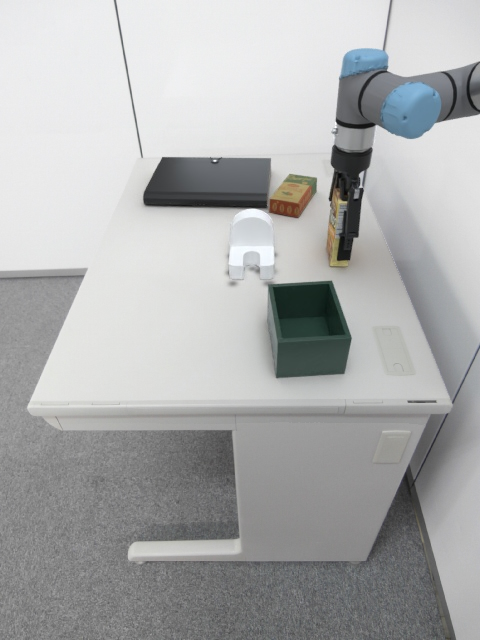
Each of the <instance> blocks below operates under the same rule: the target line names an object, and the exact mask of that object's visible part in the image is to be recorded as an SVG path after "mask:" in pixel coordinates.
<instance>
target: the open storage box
mask: <svg viewBox="0 0 480 640" xmlns="http://www.w3.org/2000/svg"><path fill="white" fill-rule="evenodd" d="M341 305H342V304H341V302H340V299H339V295H338V293H337V290H336V287H335V284H334V282H333V280H316V281H300V282H281V283H269V284H267V311H266V312H267V313H266V316H267V319H266V320H267V327H268V333H269V340H270V346H271V352H272V353H271V354H272V360H273V365H274V366H273V367H274V372H275V378H276V379H283V378H299V377H313V376H330V375H345V374H346V368H347V364H348V359H349V355H350V350H351V349H350V348H351V344H352V339H353V337H352V334H351V332H350V329H349V326H348V323H347V322H348V321H347V320H346V317H345V314H344V311H343V307H342V306H341Z"/></svg>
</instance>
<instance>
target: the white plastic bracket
mask: <svg viewBox="0 0 480 640" xmlns="http://www.w3.org/2000/svg"><path fill="white" fill-rule="evenodd" d="M228 256H229V257H228V273H229V274H228V275H229V278H230V279H231V280H244V274H245V273H244V272H245V267H247V266H250V265H253V266H257V267H258V268H259V280H272V279H274V278H275V225H274V222H273V219H272V218H271V216H270V215H269V214H268V213H266V212H265V211H264V210H261V209H259V208H247V209H243V210H241V211H239V212H238V213H236V214H235V216H233V218H232V220H231V223H230V228H229V255H228Z"/></svg>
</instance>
